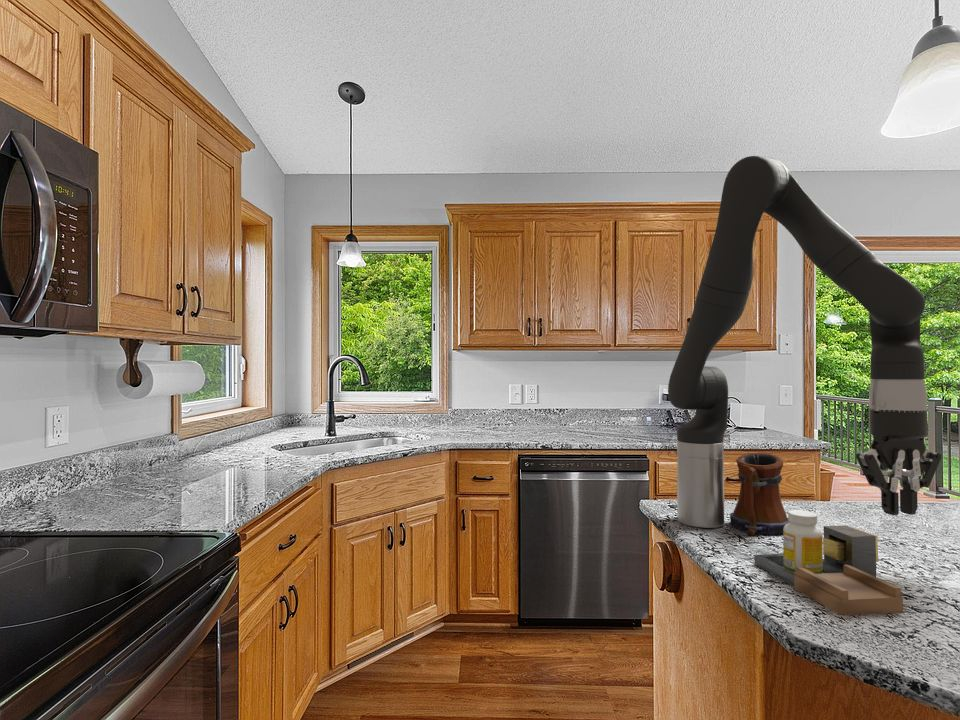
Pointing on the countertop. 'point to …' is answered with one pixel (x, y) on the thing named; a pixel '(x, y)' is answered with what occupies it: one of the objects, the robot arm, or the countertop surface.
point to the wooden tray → (849, 591)
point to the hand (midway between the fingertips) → (899, 513)
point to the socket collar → (773, 566)
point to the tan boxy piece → (840, 547)
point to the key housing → (854, 548)
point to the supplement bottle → (802, 542)
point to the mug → (759, 495)
